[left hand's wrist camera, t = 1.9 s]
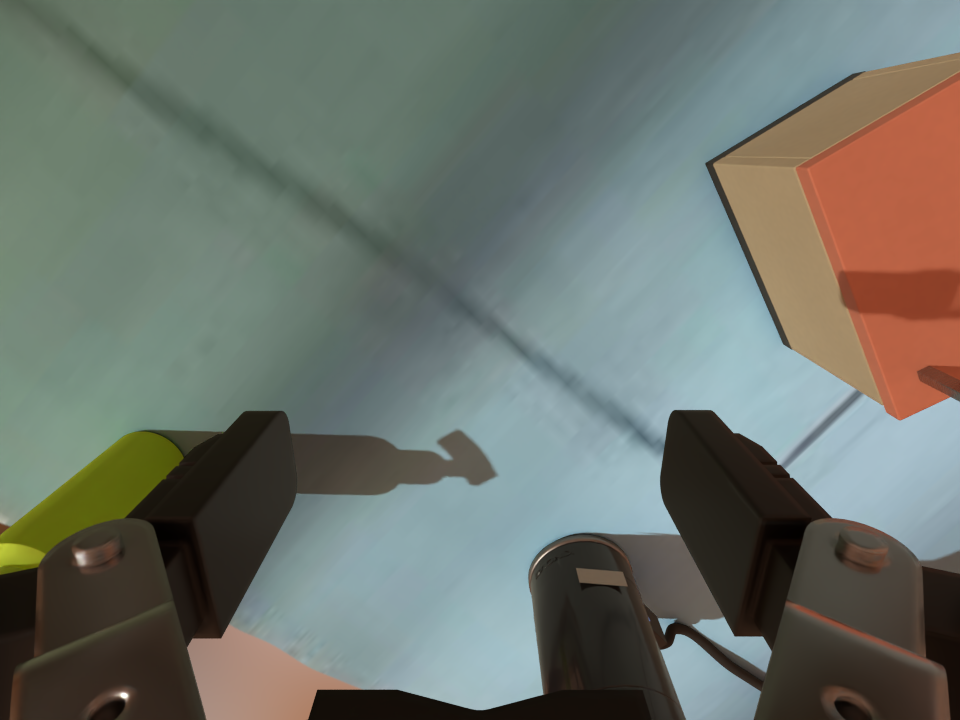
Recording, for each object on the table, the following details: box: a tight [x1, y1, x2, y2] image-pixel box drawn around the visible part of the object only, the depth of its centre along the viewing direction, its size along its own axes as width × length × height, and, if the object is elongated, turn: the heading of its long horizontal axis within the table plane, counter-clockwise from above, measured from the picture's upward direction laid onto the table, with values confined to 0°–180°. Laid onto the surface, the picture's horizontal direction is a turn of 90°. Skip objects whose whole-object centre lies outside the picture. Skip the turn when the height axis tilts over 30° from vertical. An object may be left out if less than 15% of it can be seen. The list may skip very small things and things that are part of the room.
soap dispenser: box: [0, 432, 184, 575], centre depth 34 cm, size 6×7×20 cm
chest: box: [705, 53, 960, 405], centre depth 32 cm, size 15×10×10 cm, turn 32°
